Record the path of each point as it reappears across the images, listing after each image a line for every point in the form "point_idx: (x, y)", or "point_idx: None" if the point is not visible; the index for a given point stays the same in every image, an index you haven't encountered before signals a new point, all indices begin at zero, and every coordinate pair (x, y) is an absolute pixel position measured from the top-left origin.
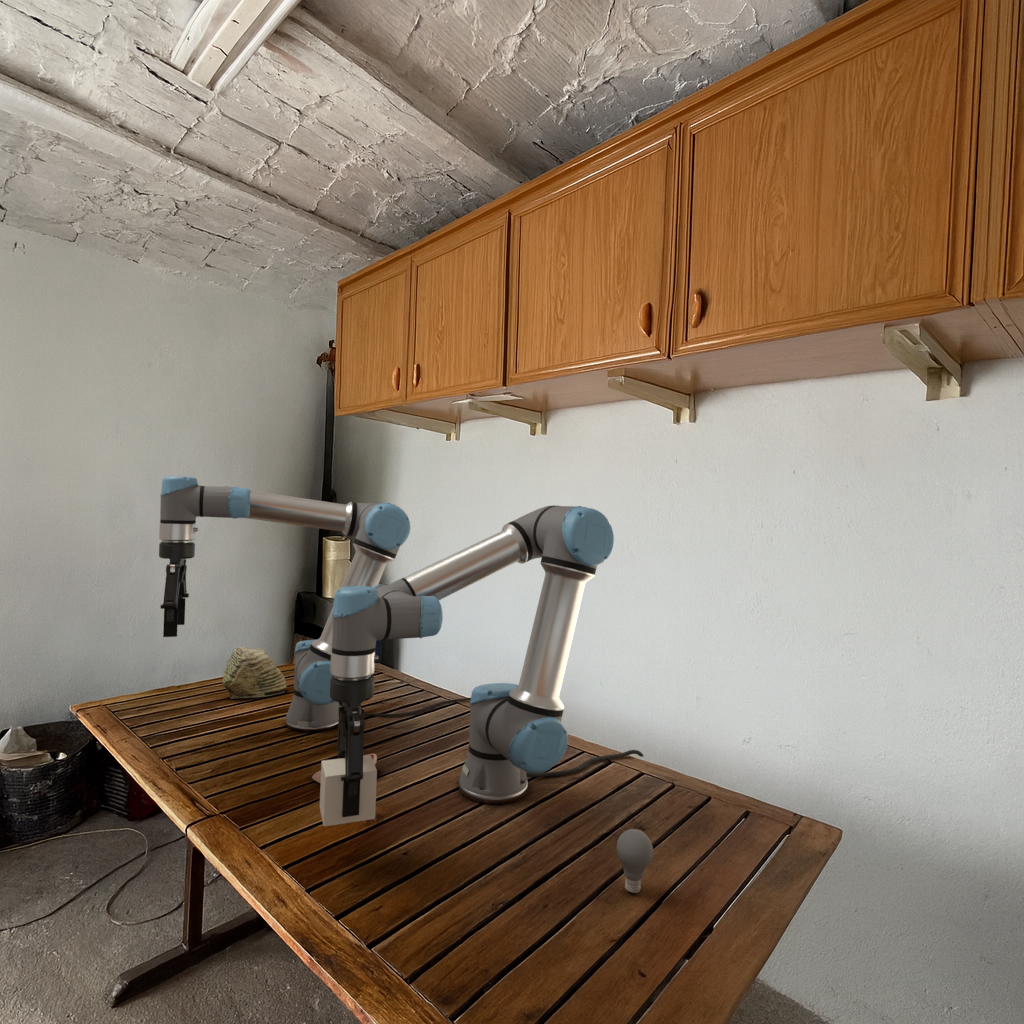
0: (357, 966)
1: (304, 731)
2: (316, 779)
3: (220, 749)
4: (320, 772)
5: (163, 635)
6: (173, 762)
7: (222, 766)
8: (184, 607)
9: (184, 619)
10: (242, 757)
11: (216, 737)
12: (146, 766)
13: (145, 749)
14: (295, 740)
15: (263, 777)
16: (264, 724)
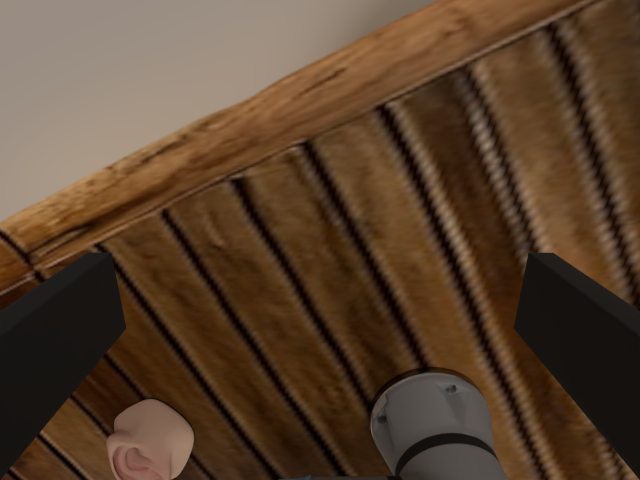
0: None
1: (375, 397)
2: (136, 405)
3: (327, 253)
4: (146, 416)
5: (80, 258)
6: (276, 168)
7: (234, 262)
8: (603, 430)
9: (542, 351)
10: (272, 294)
11: (403, 241)
12: (265, 114)
13: (373, 94)
14: (338, 380)
15: (171, 330)
16: (452, 329)
